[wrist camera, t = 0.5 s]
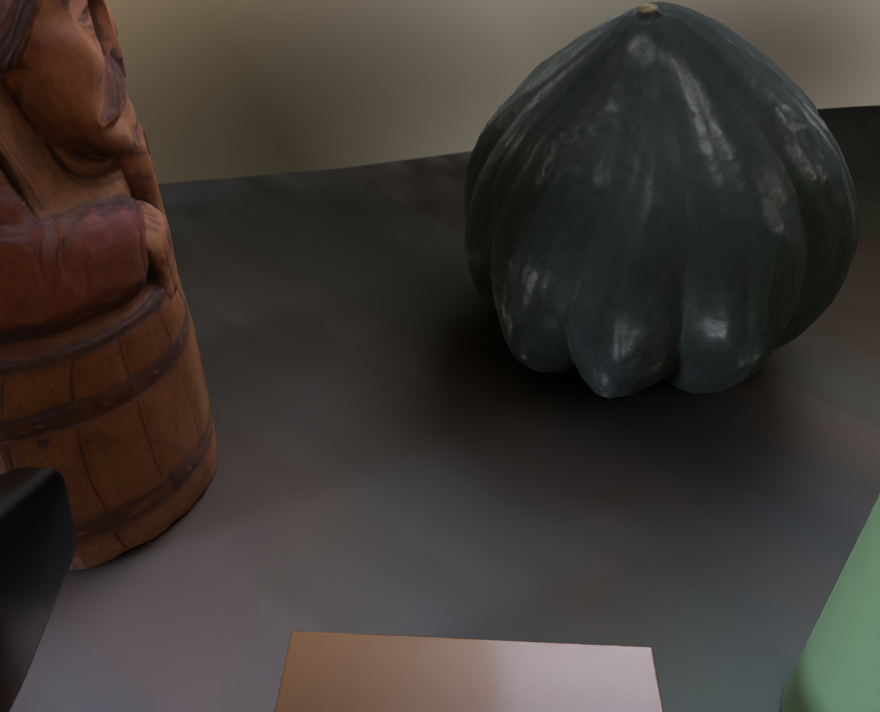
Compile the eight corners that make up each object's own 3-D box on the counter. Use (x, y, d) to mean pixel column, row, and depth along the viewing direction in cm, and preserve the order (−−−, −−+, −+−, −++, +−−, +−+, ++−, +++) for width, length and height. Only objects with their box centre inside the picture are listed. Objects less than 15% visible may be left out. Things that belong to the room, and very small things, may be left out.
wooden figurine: (231, 553, 26) (96, -75, 15) (16, 598, 25) (-306, -61, 14) (207, 341, 35) (112, -149, 24) (48, 365, 34) (-131, -146, 23)
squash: (769, 132, 40) (616, -126, 31) (993, 311, 29) (857, -10, 20) (544, 313, 44) (350, 131, 35) (664, 531, 33) (426, 347, 24)
